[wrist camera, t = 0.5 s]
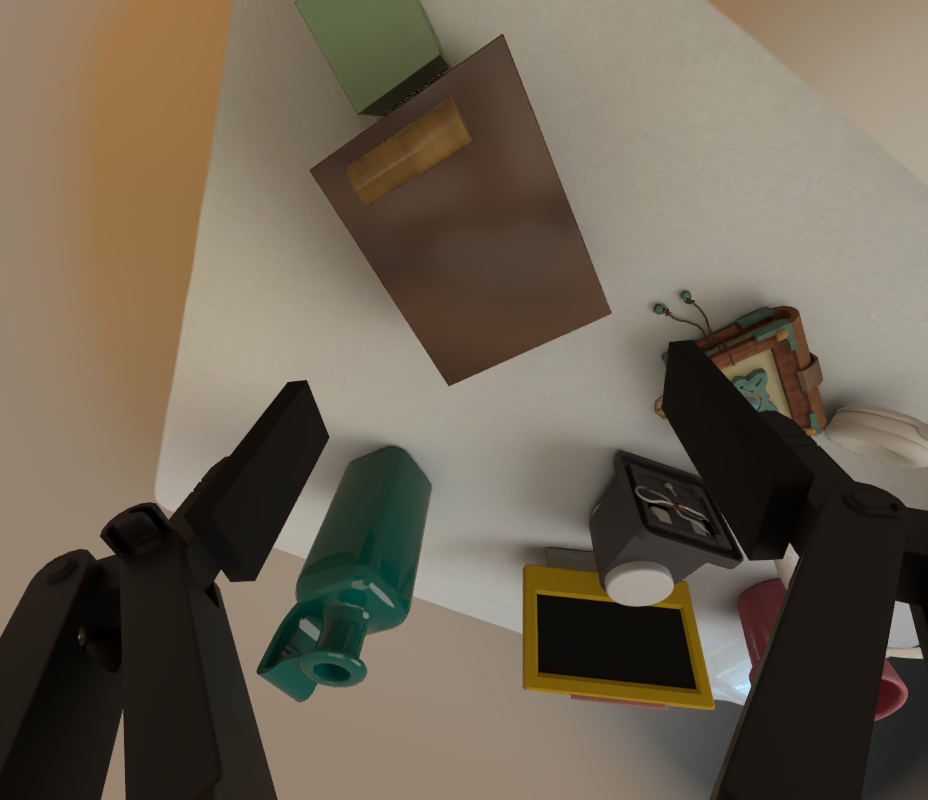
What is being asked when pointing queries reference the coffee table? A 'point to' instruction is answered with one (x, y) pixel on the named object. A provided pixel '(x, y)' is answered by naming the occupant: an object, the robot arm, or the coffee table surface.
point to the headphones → (881, 441)
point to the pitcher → (353, 576)
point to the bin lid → (467, 218)
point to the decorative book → (766, 363)
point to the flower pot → (758, 623)
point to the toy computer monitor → (608, 640)
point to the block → (375, 48)
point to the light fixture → (656, 531)
